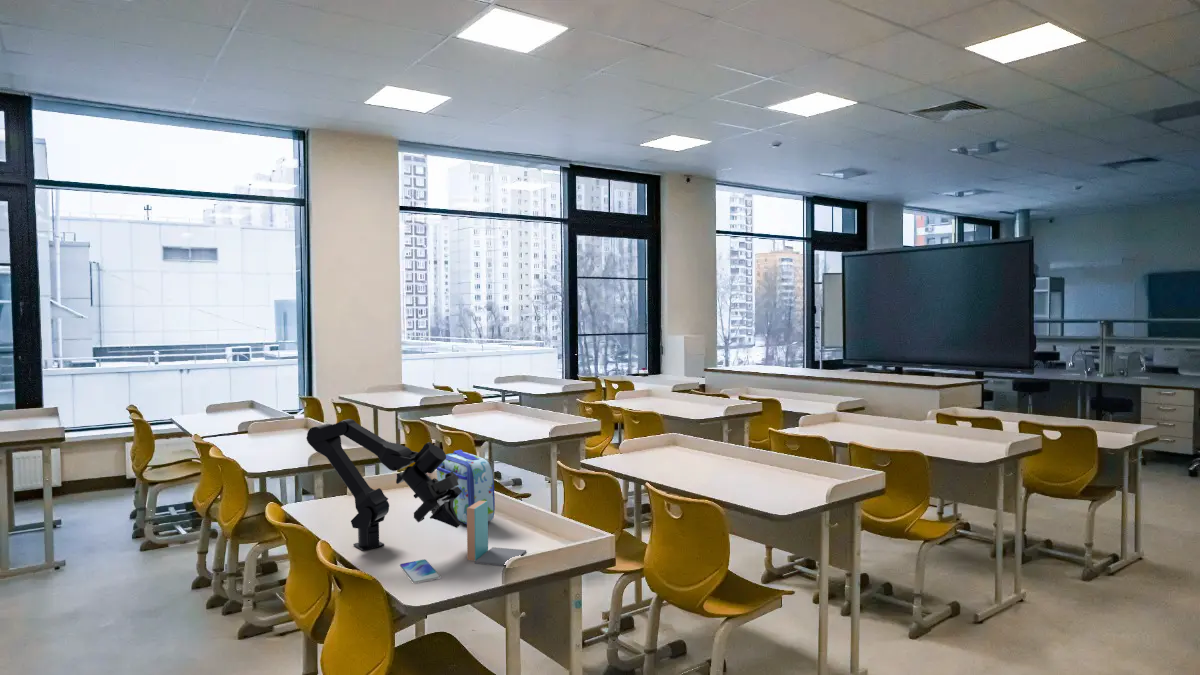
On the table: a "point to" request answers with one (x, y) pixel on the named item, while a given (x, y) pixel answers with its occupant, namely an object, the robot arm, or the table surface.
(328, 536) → the table surface
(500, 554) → the rubber mat
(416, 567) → the smartphone
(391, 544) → the table surface
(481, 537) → the glazed tile
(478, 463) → the lunch box
